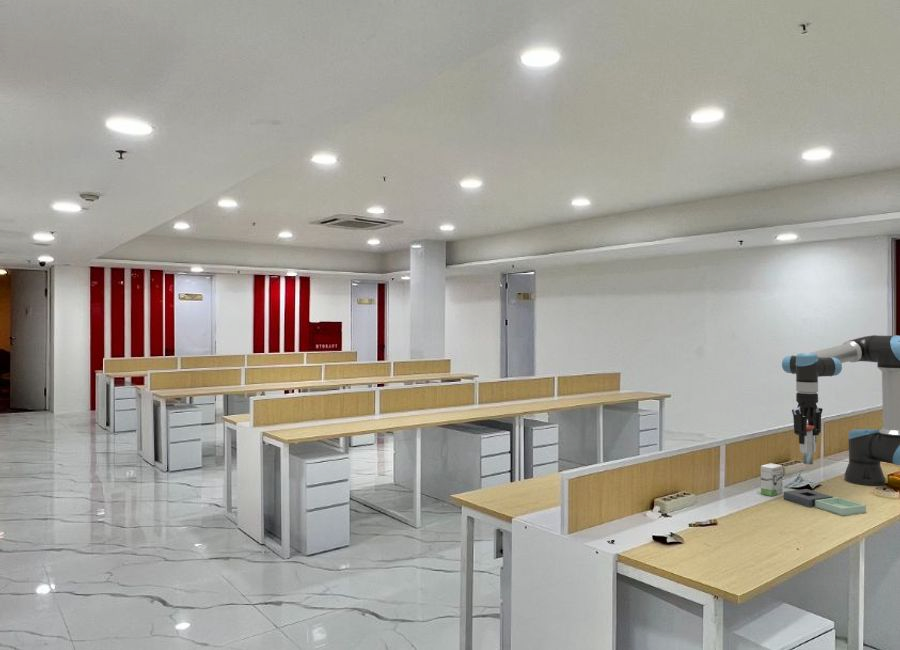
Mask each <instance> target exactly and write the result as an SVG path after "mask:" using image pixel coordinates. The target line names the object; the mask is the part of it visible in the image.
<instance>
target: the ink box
mask: <svg viewBox="0 0 900 650" xmlns="http://www.w3.org/2000/svg"><path fill="white" fill-rule="evenodd" d="M783 490H784V489H783V465H781V464H776V463H773V462H772V463H771V462H769V463H767V464H763V465H761V466H760V494H761V495H765V496H769V497H775V496H777V495H782V494H783V493H784V491H783Z"/></svg>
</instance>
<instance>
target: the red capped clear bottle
mask: <svg viewBox="0 0 900 650" xmlns="http://www.w3.org/2000/svg"><path fill="white" fill-rule="evenodd" d="M813 429H814V425H810V424H808V423H807V425H806V433H805V436H807V453H804V452H802V464H803V465H813V464H814V452H813Z"/></svg>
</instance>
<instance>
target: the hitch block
mask: <svg viewBox="0 0 900 650" xmlns="http://www.w3.org/2000/svg"><path fill="white" fill-rule="evenodd" d="M828 498H834V496H832V495H830V494H825V493H822V492H818V491H814V490H812V489H808V488H804V489H795V490H787V491H783V500H785V501H788V502H790V503H794V504H797V505H801V506H804V507H806V508H815V500H820V499H828Z"/></svg>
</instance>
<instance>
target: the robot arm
mask: <svg viewBox="0 0 900 650" xmlns="http://www.w3.org/2000/svg"><path fill="white" fill-rule="evenodd" d="M847 362H849V363H857V362H869V363H870V362H871V363H877V369H879V370H880V371H881V383H882V384H881V387H882V388H881V389H882V391H881V392H882V393H881V394H882V399H881V400H882V428H881V429H878V428H862V429H861V428H860V429H851V430H850V431H849V433H848V439H847V441H848V464H847V467H846V470H845V472H844V476H843V477H844V480H845V481H846V482H848V483H852V484H857V485H862V486H863V485H864V486H876V487H877V486H885V485H886V477H885V475H884V471H883V469H882V466H881V463H887V464H892V465H895V466H900V335H897V334H896V335H877V334H876V335H875V334H874V335H873V334H872V335H867V336H863V337H858V338H854V339H850V340H847V341H844V342H843V343H842V344H840V345H836V346H832V347H827V348H823V349H819V350H816V351H812V352H809V353H806V352H805V353H804V352H803V353H801V352H800V353H797V354H796V355H786V356H784V357H783V358H782V361H781V367H782V370H783V371H784V372H785V373H787V374H792V375H796V376H795V377H796V378H795V379H796V380H795V381H796V382H795V385H796V387H795V388H796V390H795V391H796V393H795V398H796V400H795V401H796V402H797V408H795V409H794V408H793V409H791V413H792V416H793V419H792V420H793V432H794V435H796V436H798V443H799V452H800V453H803V452H804V453H807V436H805V433H806V425H807V424H810V425H814V429H813V453H816V449H817V448H816V444H817V436H819V435H820V434H821V429H822V413H823V408H822V407H818V406H817V403H819V394H818V393H819V378H820V377H834V376H838V375H839V374H840V373H841V372H842V370H843V366H842V364H843V363H847Z"/></svg>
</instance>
